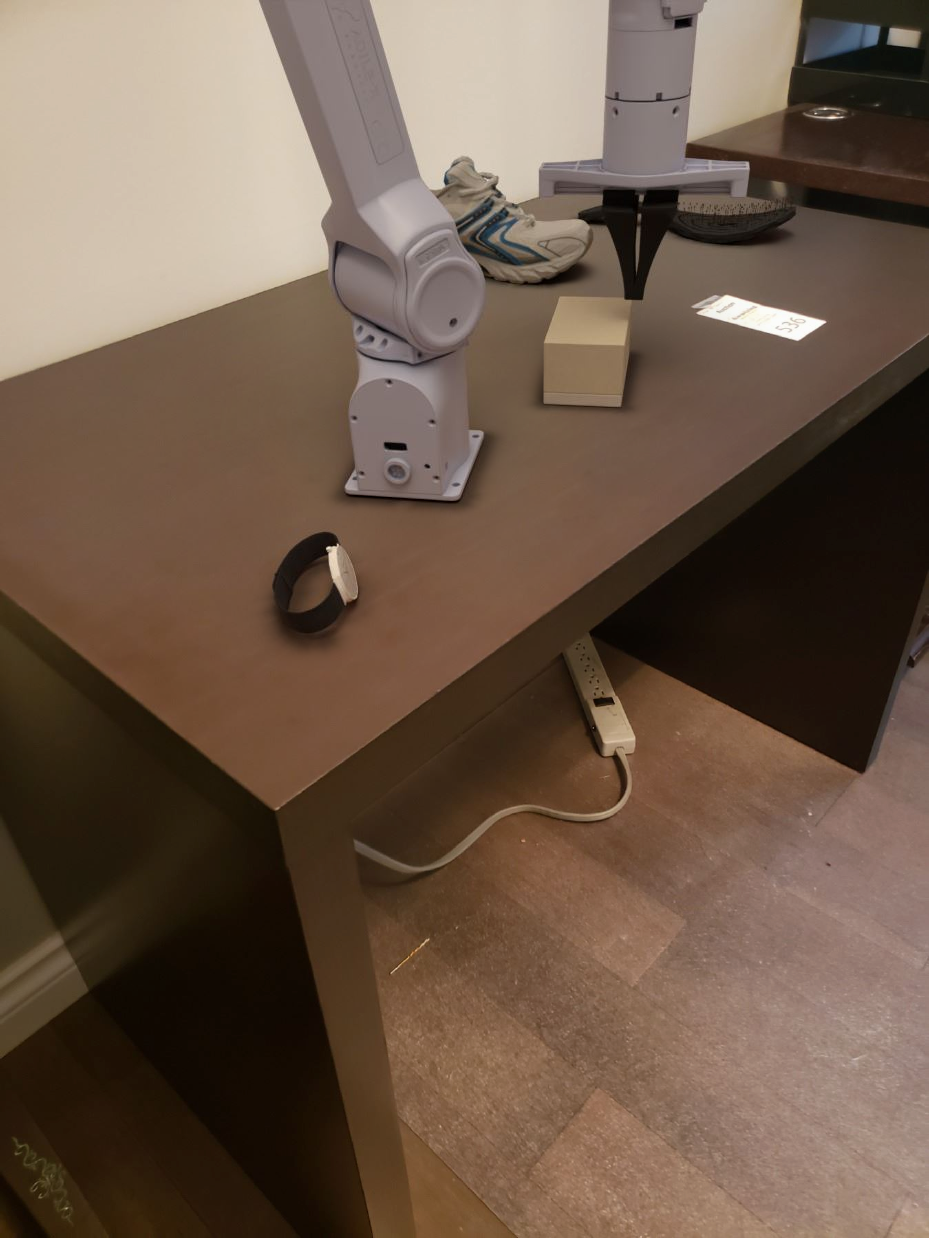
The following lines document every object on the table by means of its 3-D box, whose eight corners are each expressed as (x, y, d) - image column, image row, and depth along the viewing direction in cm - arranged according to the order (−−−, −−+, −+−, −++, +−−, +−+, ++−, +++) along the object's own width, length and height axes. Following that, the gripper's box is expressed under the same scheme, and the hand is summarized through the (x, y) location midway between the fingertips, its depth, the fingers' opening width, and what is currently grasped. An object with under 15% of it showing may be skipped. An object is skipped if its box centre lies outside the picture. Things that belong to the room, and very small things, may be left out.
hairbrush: (591, 185, 113) (805, 190, 103) (592, 217, 115) (801, 225, 105) (565, 203, 108) (787, 210, 97) (565, 237, 110) (783, 247, 99)
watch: (355, 639, 51) (347, 586, 49) (269, 645, 51) (257, 592, 49) (360, 560, 57) (353, 509, 55) (283, 565, 57) (273, 514, 55)
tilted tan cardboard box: (624, 345, 69) (543, 342, 70) (620, 407, 72) (543, 404, 73) (632, 297, 76) (559, 296, 78) (628, 356, 80) (558, 353, 81)
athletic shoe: (588, 285, 93) (594, 151, 88) (367, 283, 97) (360, 156, 92) (597, 277, 102) (602, 154, 97) (394, 276, 106) (389, 159, 101)
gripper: (756, 82, 65) (731, 280, 73) (548, 86, 67) (546, 276, 76) (761, 101, 59) (733, 312, 68) (534, 105, 62) (534, 307, 70)
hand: (634, 295), depth 71 cm, fingers closed
